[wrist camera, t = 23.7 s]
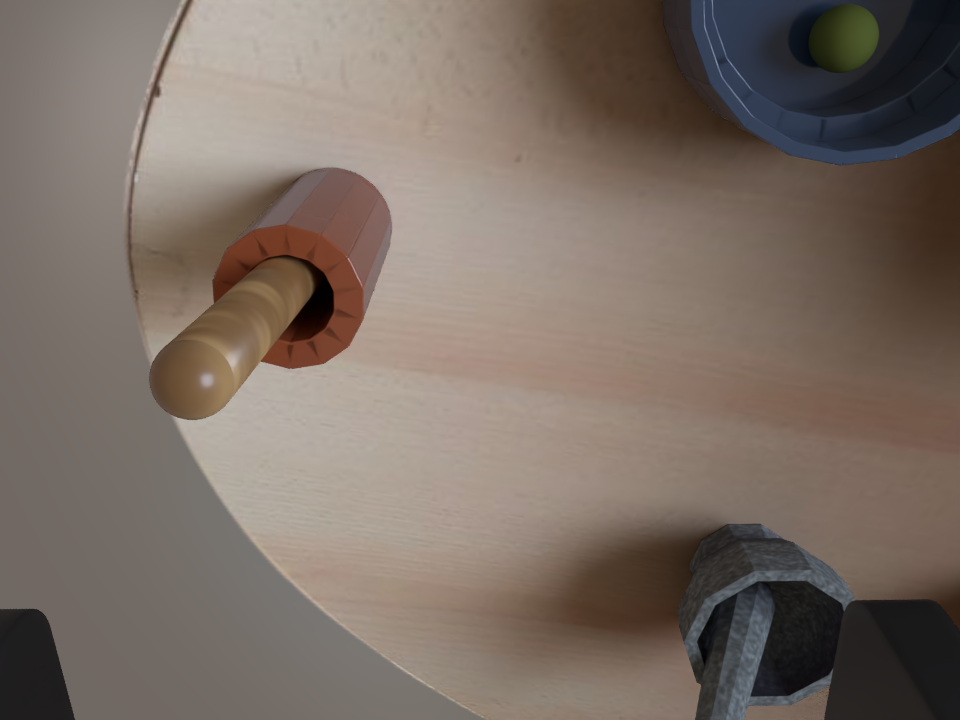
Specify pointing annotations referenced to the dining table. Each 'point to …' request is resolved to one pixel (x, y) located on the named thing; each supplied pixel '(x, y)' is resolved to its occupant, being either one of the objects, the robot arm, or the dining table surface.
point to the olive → (843, 38)
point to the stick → (231, 338)
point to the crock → (318, 259)
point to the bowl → (823, 75)
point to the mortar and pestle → (759, 621)
